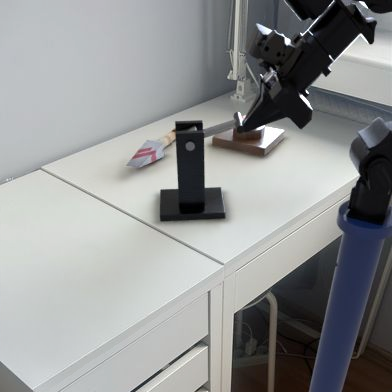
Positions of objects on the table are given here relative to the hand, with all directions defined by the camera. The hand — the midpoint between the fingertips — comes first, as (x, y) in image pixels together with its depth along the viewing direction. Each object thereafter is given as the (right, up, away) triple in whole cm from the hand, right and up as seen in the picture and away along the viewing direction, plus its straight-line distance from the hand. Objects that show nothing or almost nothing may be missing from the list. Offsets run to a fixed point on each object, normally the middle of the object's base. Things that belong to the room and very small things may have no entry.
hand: (242, 130), depth 79 cm
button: (+4, +12, +26) cm, 28 cm away
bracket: (-8, -10, +9) cm, 15 cm away
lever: (-5, -1, +1) cm, 5 cm away
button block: (+4, +10, +28) cm, 30 cm away
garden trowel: (-15, +5, +24) cm, 29 cm away
